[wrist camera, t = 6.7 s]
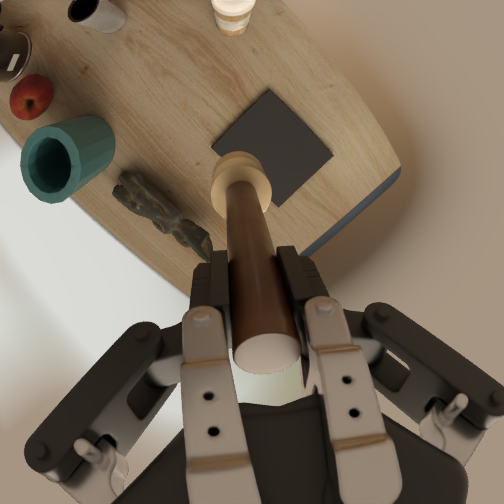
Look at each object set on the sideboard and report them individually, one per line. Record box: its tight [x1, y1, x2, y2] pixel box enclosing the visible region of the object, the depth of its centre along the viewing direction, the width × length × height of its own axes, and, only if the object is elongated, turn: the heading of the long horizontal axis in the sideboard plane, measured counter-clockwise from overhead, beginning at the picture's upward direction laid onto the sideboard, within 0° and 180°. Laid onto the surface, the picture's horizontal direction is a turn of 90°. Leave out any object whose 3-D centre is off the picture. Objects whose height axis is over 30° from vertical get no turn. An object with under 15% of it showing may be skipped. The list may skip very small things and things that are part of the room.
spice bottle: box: [211, 0, 256, 36], centre depth 25 cm, size 5×5×14 cm
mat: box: [212, 90, 334, 207], centre depth 41 cm, size 14×12×1 cm
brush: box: [210, 151, 302, 374], centre depth 17 cm, size 4×4×19 cm
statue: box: [112, 171, 213, 263], centre depth 43 cm, size 6×6×20 cm
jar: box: [20, 115, 115, 204], centre depth 33 cm, size 10×10×12 cm
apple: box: [10, 74, 53, 120], centre depth 29 cm, size 7×8×8 cm
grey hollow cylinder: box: [68, 0, 126, 34], centre depth 24 cm, size 4×4×10 cm
